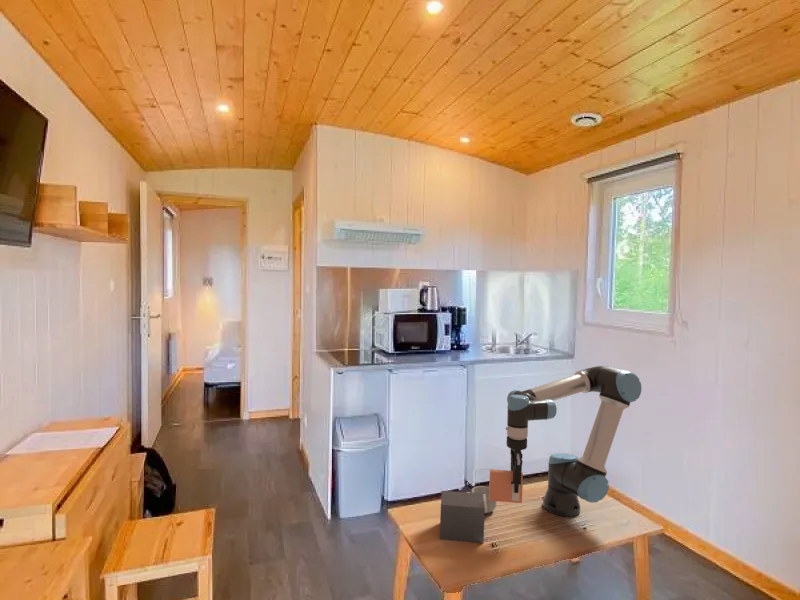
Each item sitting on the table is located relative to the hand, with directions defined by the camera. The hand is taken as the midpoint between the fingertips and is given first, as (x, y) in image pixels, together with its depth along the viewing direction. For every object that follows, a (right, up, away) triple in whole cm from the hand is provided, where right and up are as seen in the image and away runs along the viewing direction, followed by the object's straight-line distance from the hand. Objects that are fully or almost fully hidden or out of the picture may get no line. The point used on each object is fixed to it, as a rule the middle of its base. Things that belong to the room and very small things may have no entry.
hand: (514, 498), depth 175 cm
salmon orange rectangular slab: (-4, -1, 0) cm, 4 cm away
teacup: (-10, -14, +20) cm, 26 cm away
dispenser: (-20, -14, +1) cm, 24 cm away
